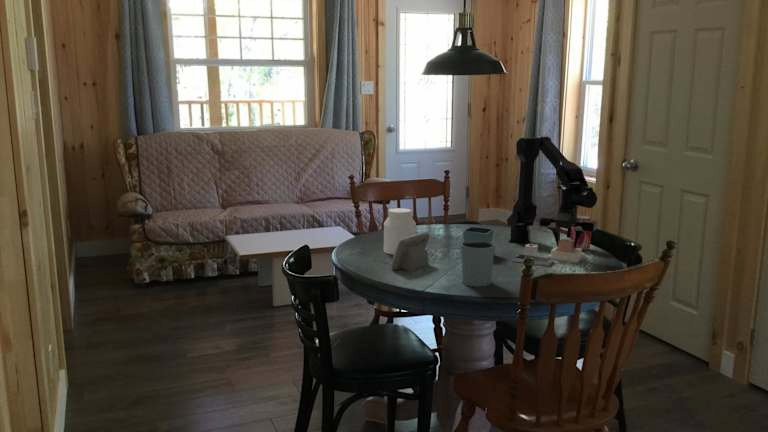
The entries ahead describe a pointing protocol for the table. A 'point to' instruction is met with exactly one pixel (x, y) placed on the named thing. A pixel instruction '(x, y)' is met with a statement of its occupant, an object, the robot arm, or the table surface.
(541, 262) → the phone
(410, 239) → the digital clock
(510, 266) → the table surface
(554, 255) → the outlet plate
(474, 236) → the flower pot
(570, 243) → the block
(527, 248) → the grey cube with tab
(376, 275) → the table surface
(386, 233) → the jar
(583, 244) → the soda can
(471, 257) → the drinking glass
